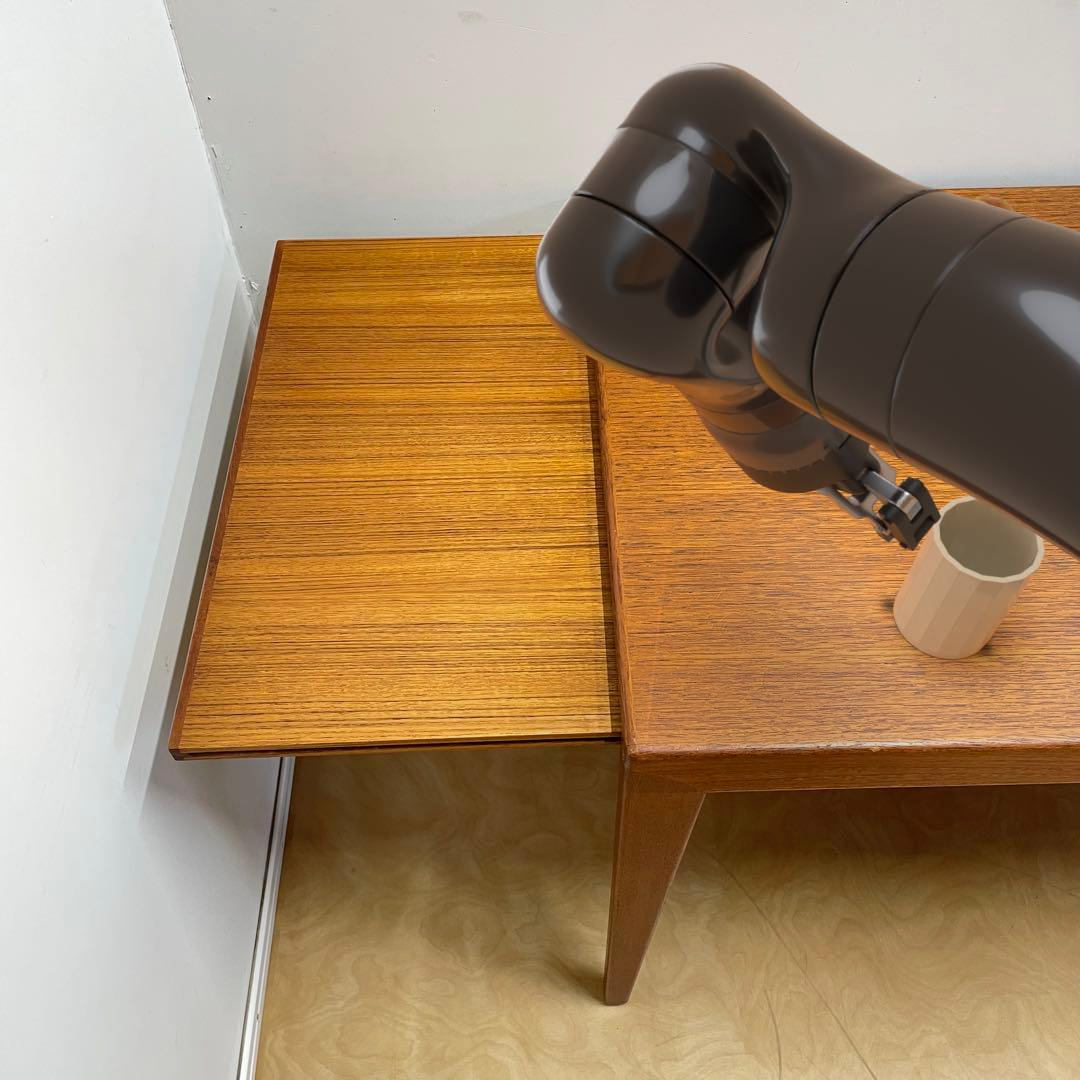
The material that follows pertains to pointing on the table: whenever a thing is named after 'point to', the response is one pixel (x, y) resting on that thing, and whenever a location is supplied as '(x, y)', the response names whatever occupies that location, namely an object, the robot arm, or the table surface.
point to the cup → (965, 579)
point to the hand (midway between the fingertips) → (840, 488)
